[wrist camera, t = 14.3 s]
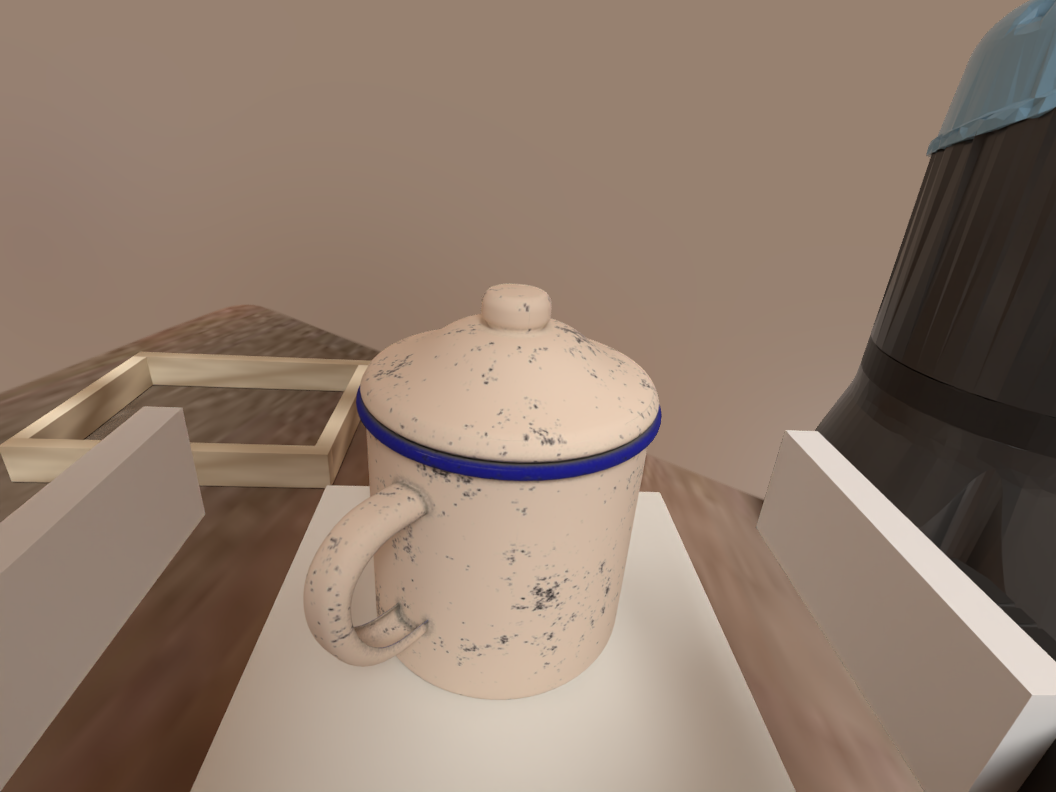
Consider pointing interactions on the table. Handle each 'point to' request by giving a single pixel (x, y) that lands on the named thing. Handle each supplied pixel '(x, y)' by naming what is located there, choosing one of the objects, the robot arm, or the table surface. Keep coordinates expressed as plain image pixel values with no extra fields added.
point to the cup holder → (217, 464)
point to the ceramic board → (502, 725)
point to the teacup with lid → (490, 502)
